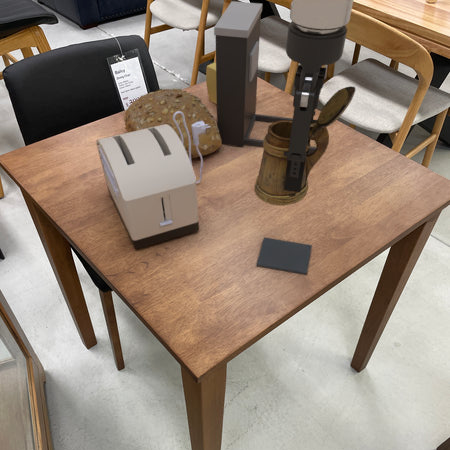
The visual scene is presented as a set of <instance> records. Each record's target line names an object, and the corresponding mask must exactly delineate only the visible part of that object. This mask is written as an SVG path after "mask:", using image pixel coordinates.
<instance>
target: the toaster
mask: <svg viewBox="0 0 450 450" xmlns="http://www.w3.org/2000/svg"><path fill="white" fill-rule="evenodd" d="M177 114H181V115H182V116H183V123H184V126H185V129H186V132H187V135H188V139H189V157H188V155H187V152H186V150H185V148H184V146H183V143H184V140H183V135H182V132H181V130H180V128H179V126H178V124H177V122H176V120H175V116H176V115H177ZM173 120H174V122H175V125H176V126H177V128H178V130H179V133H180V135H181V140H182V142H181V140H180V138H179V137H178V135H177V134H176V132H175V131H174V130H173V129H172V128H171V127H170V126H169V125H167V124H164V125H160V126H155V127H151V128H147V129H142V130H138V131H134V132H129V133H128V132H125V133H120V134H115V135H112V136H108V137H103V138H98V139H96V140H95V144H96V148H97V152H98V155H99V160H100V164H101V168H102V171H103V176H104V179H105V183H106V187H107V191H108V194H109V196H110V198H111V201H112V203H113V205H114V207H115V209H116V212H117V214H118V216H119V218H120V220H121V222H122V225H123V227H124V228H125V232H126V233H127V236H128V238H129V240H130V242H131V244H132V247H133V248H134V249H136V250H139V249H142V248H145V247H146V248H147V247H149V246H152V245H156V244H159V243H162V242H165V241H169V240H173V239H176V238H179V237H182V236H186V235H189V234H193V233H196V232H199V231H200V223H199V222H200V220H199V204H198V189H197V185H198V184H199V183H201V182H202V180H203V175H202V171H203V164H204V161H203V160H204V158H203V156H201V154H200V152H199V149H198V145H199V135H200V134H204V133H206V128H210V127H211V126H208V124H204V122H203V121H198V122H196V123H194V124H192V125H191V127H192V134H193V139H194V145H196V149H197V152H198V154H199V156H200V157H199V158H200V166H199V167H200V168H199V180H198V181H197V177H196V176H197V175H196V174H195V171H194V167H193V161H192V158H191V140H190V135H189V131H188V129H187V126H186V123H185V116H184V114H183V113H182V112H181V111H178V112H176V113H175V114H174V115H173ZM205 126H207V127H205Z"/></svg>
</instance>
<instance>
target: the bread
mask: <svg viewBox="0 0 450 450" xmlns="http://www.w3.org/2000/svg"><path fill="white" fill-rule="evenodd" d="M178 111H181V112H182V113H183V114H184V116H185V123H186V126H187V129H188V131H189V135H190V140H191V159H195V158H200V156H199V154H198V152H197V149H196V145H194V139H193V134H192V127H191V125H192V124H194V123H196V122H198V121H203V122H204V124H208V126H211V127H210V128H206V133H204V134H200V135H199V145H198V149H199V152H200V154H201V156H202V157H204V156H207V155H209V154H212V153H214V152H215V151H217V150H219V149H220V148H221V147H222V145H223V144H222V142H221V141H222V139H221V138H220V134H219V130H218V127H217V120H214V115H213V114H212V113H211V112H210V110H209V109H208V108H207V106H206V105H205V103H203V102H202V99H201V98H200V97H198V95H195V94H193V93H191V92H189V91H187V90H182V89H181V88H171V89H170V88H164V89H162V88H159V89H158V90H156V91H151V92H149V93H145V94H143V95H140V96H139V97H138V98H137V99H136V100H134V101H132V102H131V104H130V105H129V106H128V107H127V109H125V113H124V115H123V121H124V125H125V127H124V130H126V133H129V132H134V131H138V130H142V129H147V128H151V127H155V126H160V125H164V124H167V125H169V126H170V127H171V128H172V129H173V130H174V131H175V132H176V134H177V135H178V137H179V138H180V140H181V135H180V133H179V130H178V128H177V126H176V125H175V122H174V120H173V115H174V114H175V113H176V112H178ZM175 120H176V122H177V124H178V126H179V128H180V130H181V132H182V135H183V140H184V143H183V146H184V148H185V150H186V152H187V155H188V157H189V139H188V135H187V132H186V129H185V126H184V123H183V116H182V115H181V114H177V115H176V116H175ZM205 127H207V126H205ZM181 142H182V140H181Z"/></svg>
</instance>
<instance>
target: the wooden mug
mask: <svg viewBox="0 0 450 450" xmlns="http://www.w3.org/2000/svg"><path fill="white" fill-rule="evenodd" d="M356 91H357V90H356V86H350V85H349V86H346V87H342V88H340V89H338V90H337V91H336V92H335V93H333V94H332V95H331V97H330V98H329V99H328V100H327V102H326V103H325V104H324V105H323V107H322V109H321V110H320V113H319V115H318V118H317V119H316V120H317V121H316V122H315V123H313V124H311V126H310V132H309V137H308V143H307V149H306V151H307V150H308V149H309V147H311V142H310V143H309V140H310V141H314V142H315V144H316V146H315V147H316V149H315V151H314V152H312V153H308V154H307V156H306V162H305V168H304V174H303V180H302V186H301V192H293V191H286V190H284V185H285V177H286V169H287V161H288V160H287V157H286V156H284V152H285V151H286V152H288V150H289V143H290V136H291V128H292V121H288V120H282V121H276V122H274V123H273V122H271V124H270V125H268V127H267V133H265V135H264V138H263V140H264V142H263V147H262V148H263V152H262V155H261V160H260V161H261V162H260V166H259V171H258V175H257V176H256V178H255V183H254V194H255V195H256V197H257V198H258V199H259V200H261V201H262V202H264V203H266V204H268V205H271V206H277V207H278V206H280V207H281V206H283V207H284V206H290V205H294V204H297V203H299V202H300V201H302V200H303V199H304V198H305V197H306V195H307V193H308V191H309V181H308V177H309V175H310V172H311V171H312V170H313V168H314V167H315V165H316V164H317V163H318V162H319V161H320V160H321V158H322V157H323V155H324V154H325V153H326V151H327V148H328V146H329V143H330V142H329V141H330V133H329V130H328V128H327V127H329V126H331V125H333V124H334V123H335V122H336V121H337V120H338V119H339V118H340V117H341V116H342V115H343V114H344V112H345V111H346V110H347V108H348V107H349V105H350V104H351V102H352V100H353V98H354V96H355V93H356Z"/></svg>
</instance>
